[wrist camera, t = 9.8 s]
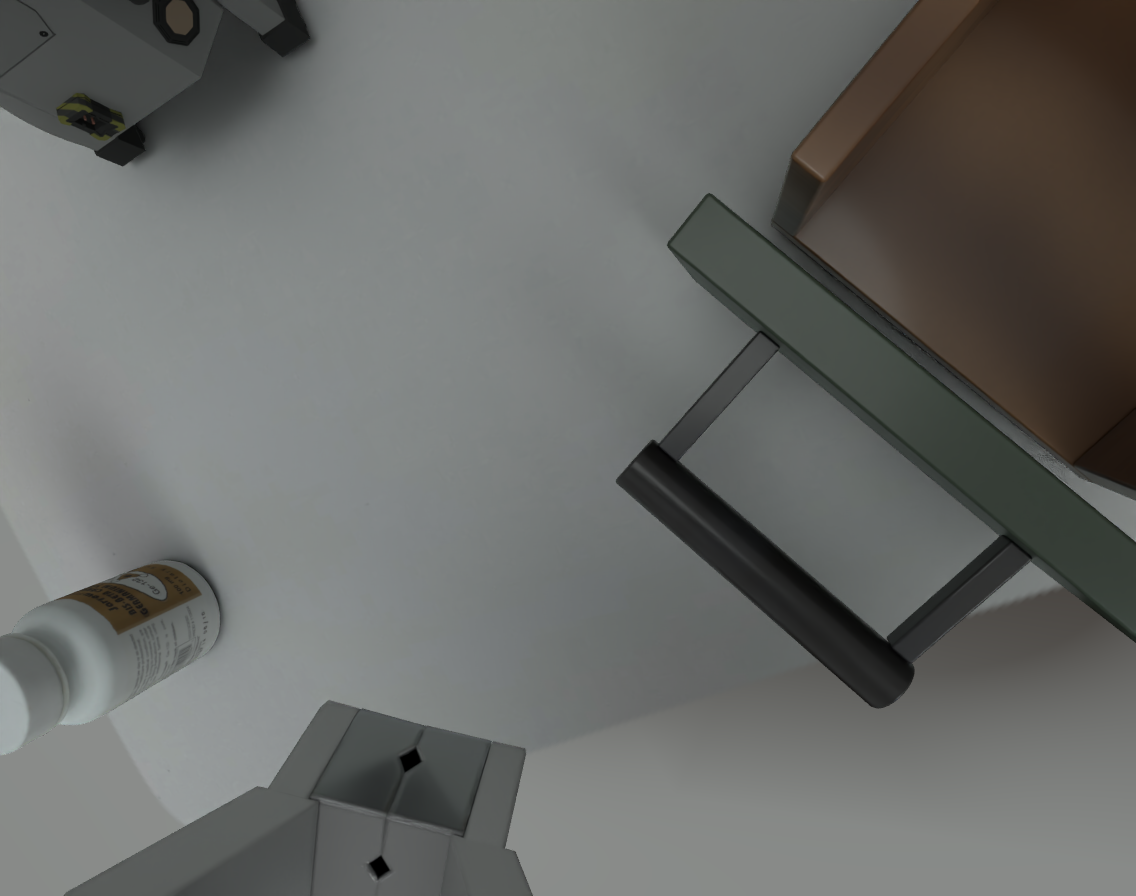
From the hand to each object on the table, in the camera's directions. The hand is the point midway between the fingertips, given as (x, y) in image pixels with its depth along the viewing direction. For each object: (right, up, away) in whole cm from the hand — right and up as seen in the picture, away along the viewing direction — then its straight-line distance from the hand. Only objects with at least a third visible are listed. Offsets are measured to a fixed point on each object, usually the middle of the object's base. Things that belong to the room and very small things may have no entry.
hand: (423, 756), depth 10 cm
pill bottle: (-14, -2, +19) cm, 23 cm away
